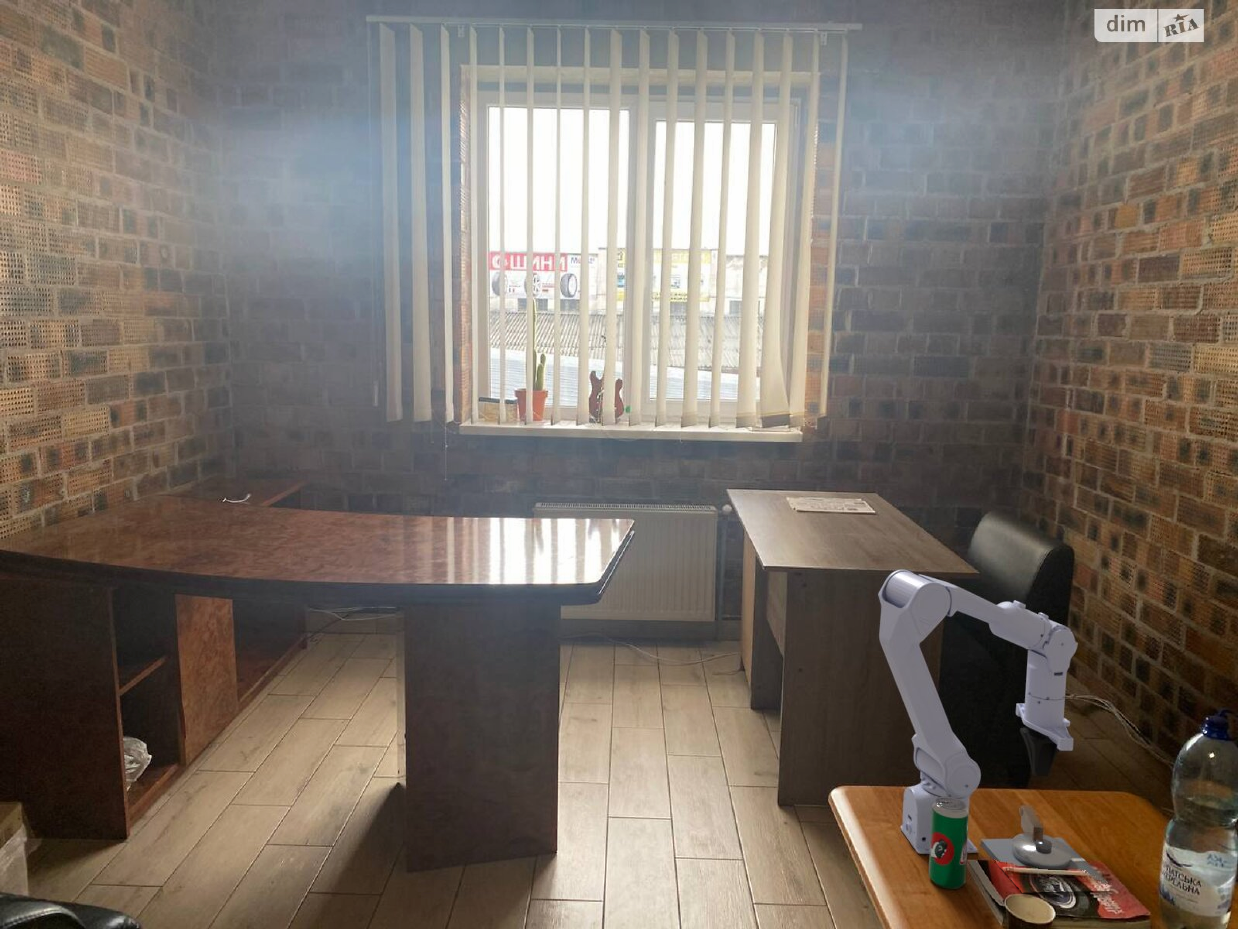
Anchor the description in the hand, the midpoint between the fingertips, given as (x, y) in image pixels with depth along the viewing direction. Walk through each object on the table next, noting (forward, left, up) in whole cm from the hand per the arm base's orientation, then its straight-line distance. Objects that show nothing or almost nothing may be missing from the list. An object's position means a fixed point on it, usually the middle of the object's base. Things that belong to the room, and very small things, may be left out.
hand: (1040, 774), depth 145 cm
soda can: (-21, -14, -10) cm, 27 cm away
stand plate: (-5, -11, -9) cm, 15 cm away
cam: (-4, -7, -8) cm, 11 cm away
